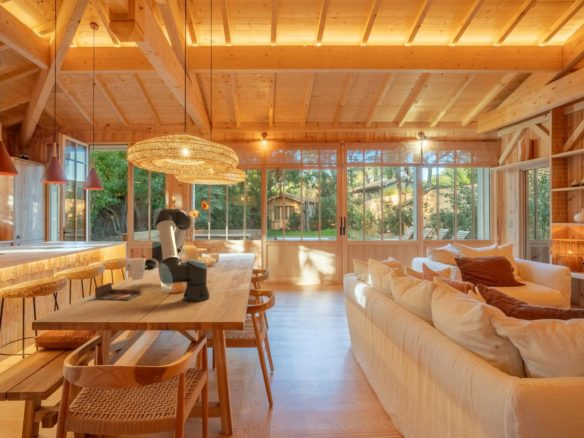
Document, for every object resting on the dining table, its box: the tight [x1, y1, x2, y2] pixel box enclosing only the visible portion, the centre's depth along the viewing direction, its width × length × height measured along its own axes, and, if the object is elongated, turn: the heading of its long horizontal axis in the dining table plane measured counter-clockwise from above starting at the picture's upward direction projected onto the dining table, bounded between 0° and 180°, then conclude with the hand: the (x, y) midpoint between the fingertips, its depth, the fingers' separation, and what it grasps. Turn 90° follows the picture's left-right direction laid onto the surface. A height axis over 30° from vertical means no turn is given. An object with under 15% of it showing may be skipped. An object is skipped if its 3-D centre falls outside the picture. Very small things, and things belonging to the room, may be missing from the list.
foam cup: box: [129, 257, 147, 281], centre depth 215 cm, size 10×9×13 cm
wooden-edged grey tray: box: [94, 282, 142, 302], centre depth 199 cm, size 20×14×7 cm
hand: (134, 269), depth 210 cm, fingers closed on foam cup, 9 cm apart
